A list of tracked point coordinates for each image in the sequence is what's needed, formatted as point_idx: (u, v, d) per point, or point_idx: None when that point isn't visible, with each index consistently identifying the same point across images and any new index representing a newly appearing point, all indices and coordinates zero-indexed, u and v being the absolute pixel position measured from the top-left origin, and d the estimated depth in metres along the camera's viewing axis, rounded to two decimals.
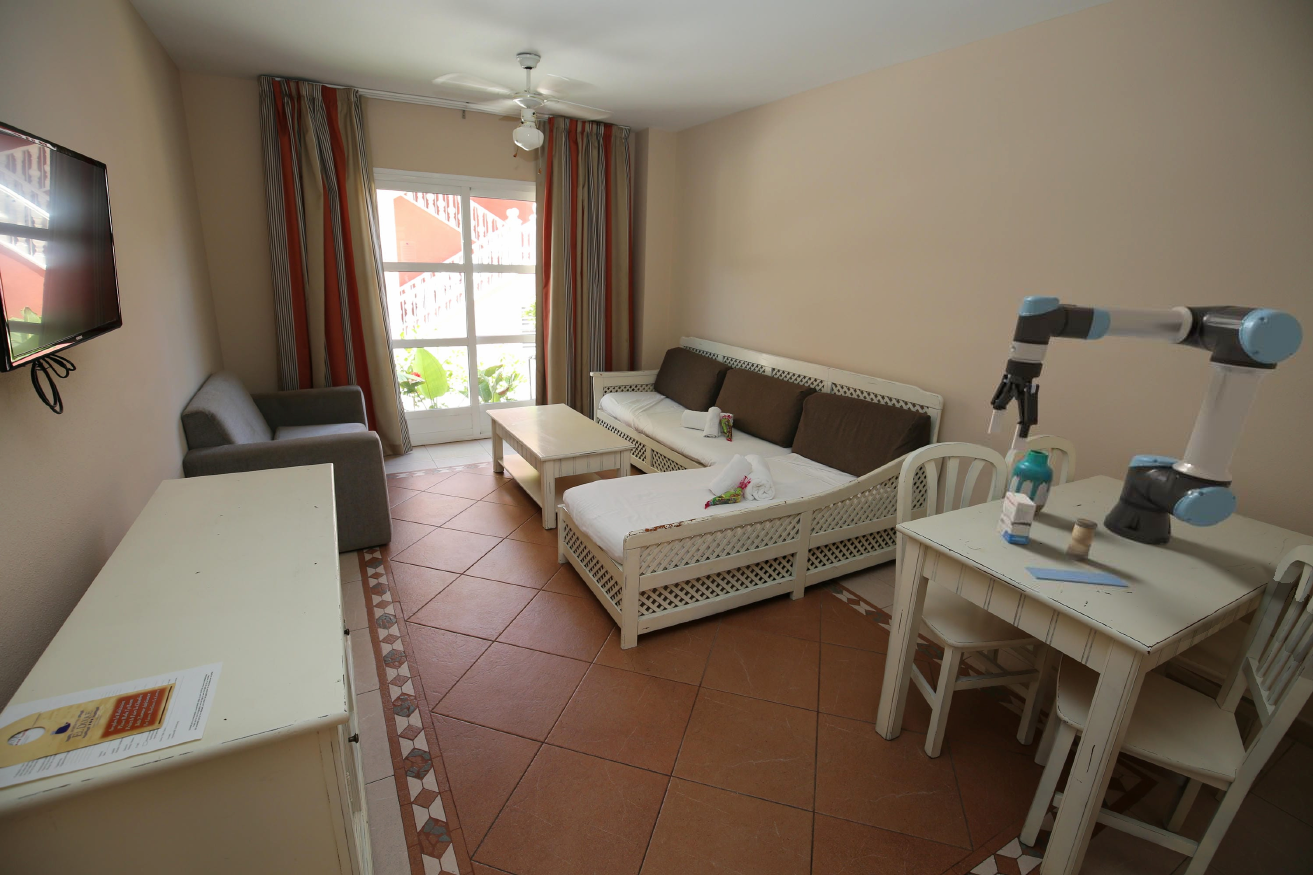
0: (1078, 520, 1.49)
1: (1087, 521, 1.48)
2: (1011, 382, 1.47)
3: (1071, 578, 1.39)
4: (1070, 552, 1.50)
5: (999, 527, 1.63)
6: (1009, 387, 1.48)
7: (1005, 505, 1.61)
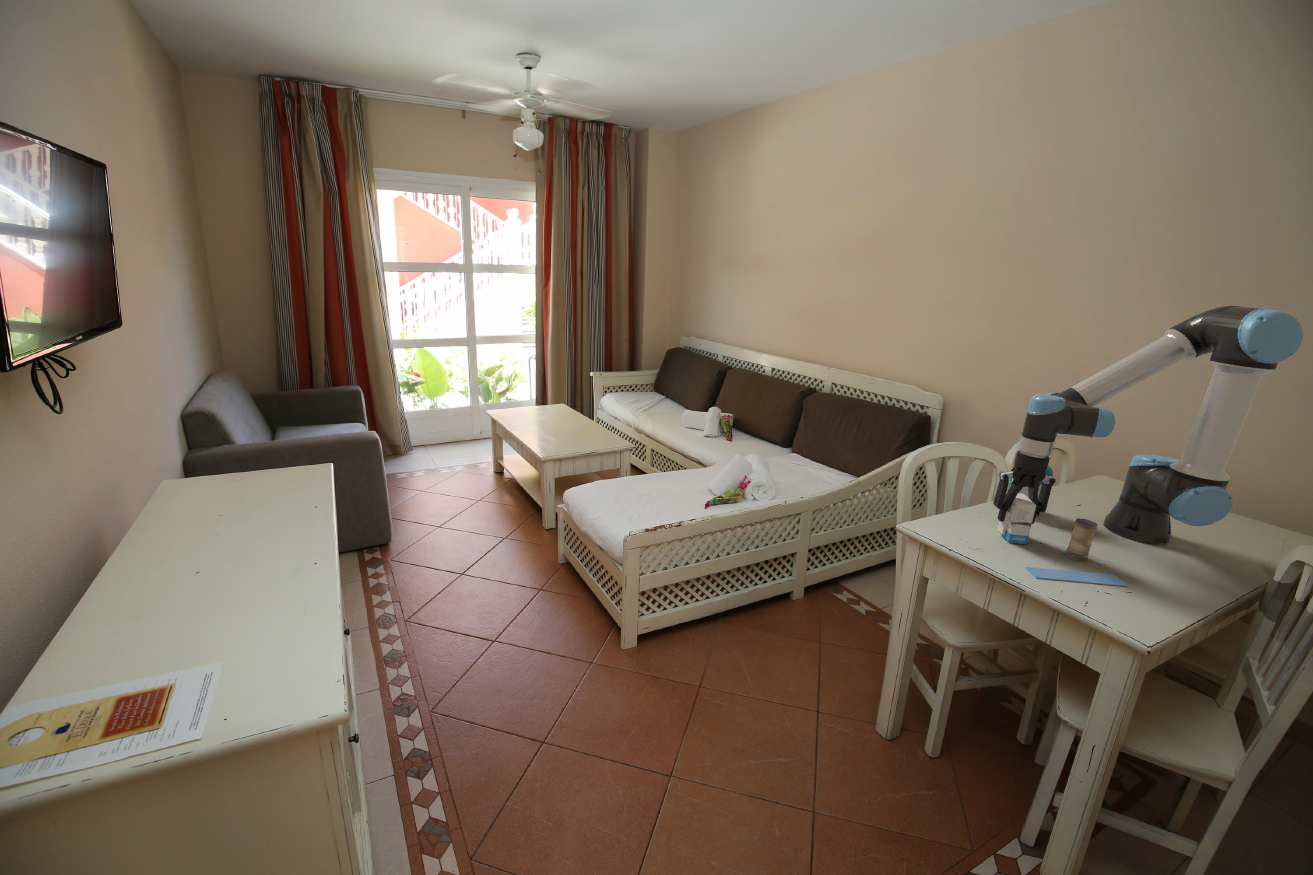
0: (1078, 520, 1.49)
1: (1087, 521, 1.48)
2: None
3: (1071, 578, 1.39)
4: (1070, 552, 1.50)
5: None
6: None
7: None
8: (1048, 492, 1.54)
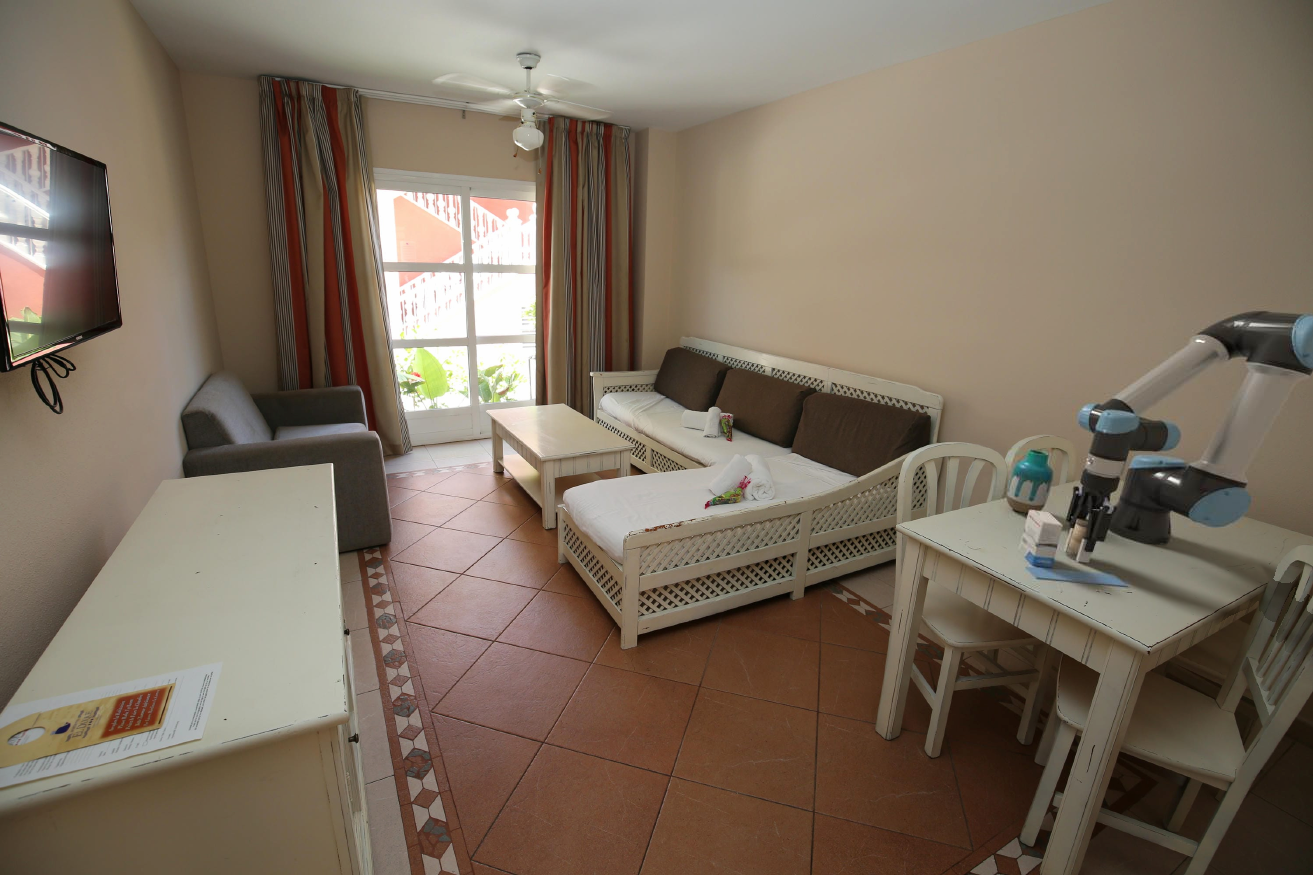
0: (1079, 520, 1.49)
1: None
2: (1086, 492, 1.47)
3: (1071, 578, 1.39)
4: (1070, 552, 1.50)
5: (1021, 548, 1.51)
6: (1085, 497, 1.47)
7: (1028, 524, 1.49)
8: None
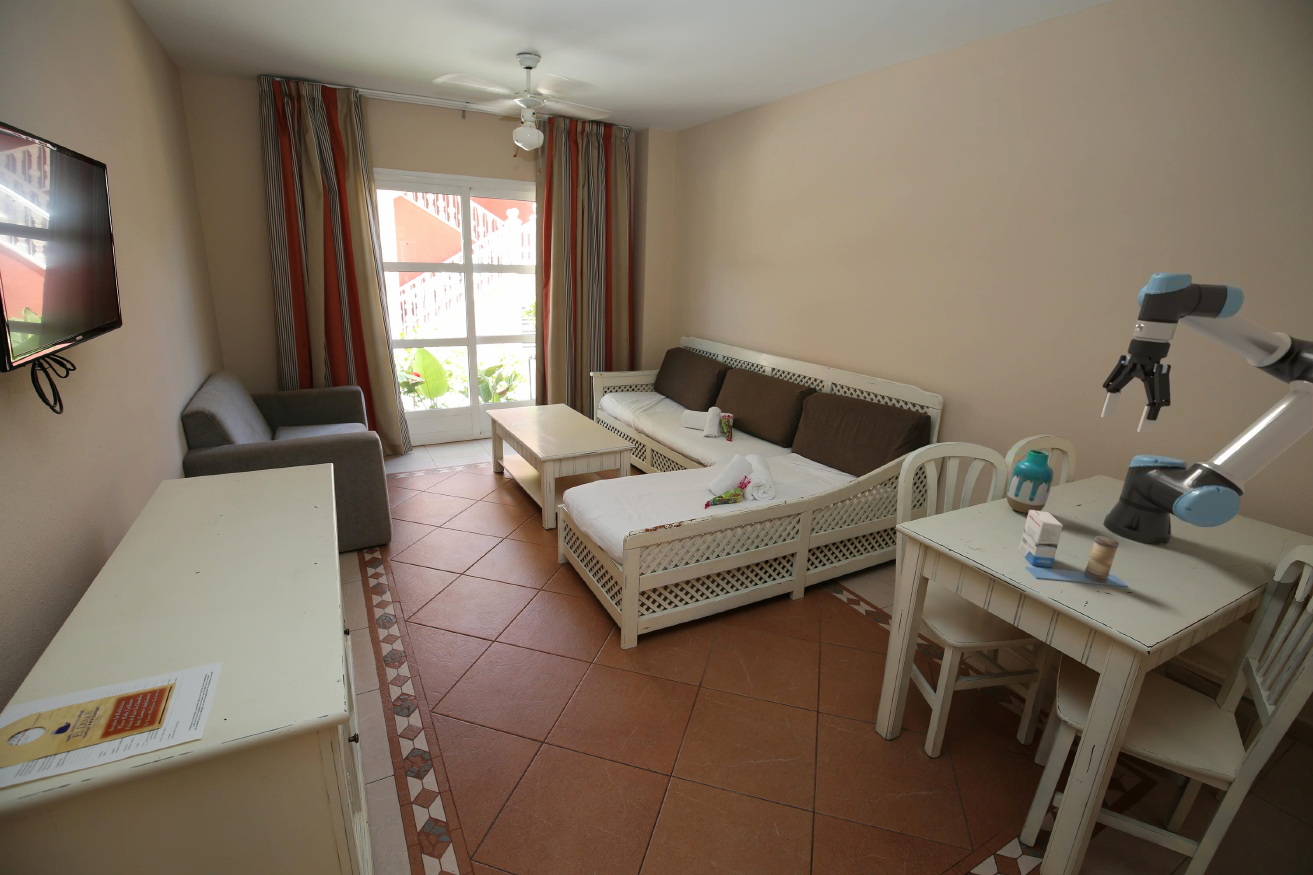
0: (1097, 538, 1.38)
1: (1107, 539, 1.38)
2: (1134, 363, 1.42)
3: (1071, 578, 1.39)
4: (1089, 572, 1.40)
5: (1021, 548, 1.51)
6: (1131, 368, 1.43)
7: (1028, 524, 1.49)
8: None
